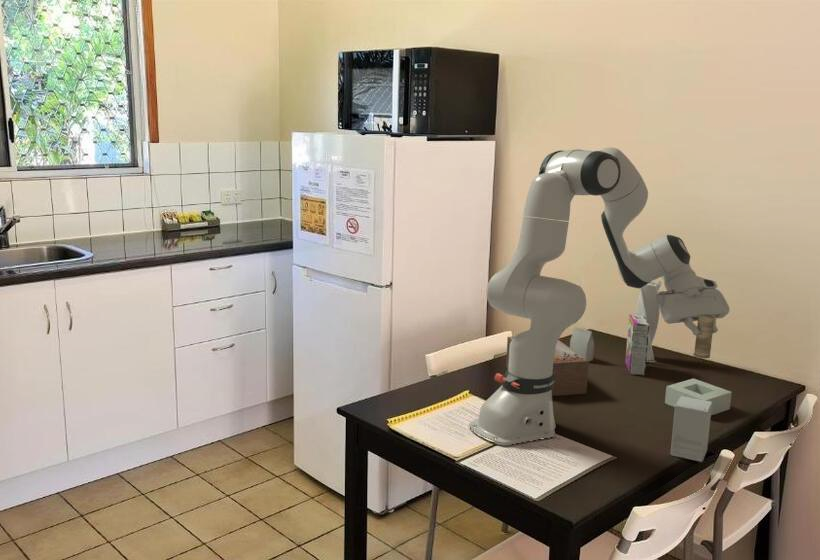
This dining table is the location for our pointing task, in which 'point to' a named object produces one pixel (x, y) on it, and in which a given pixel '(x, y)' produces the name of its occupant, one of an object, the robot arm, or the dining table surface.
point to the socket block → (699, 394)
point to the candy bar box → (637, 344)
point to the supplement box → (691, 428)
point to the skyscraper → (649, 312)
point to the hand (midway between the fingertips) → (706, 333)
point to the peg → (704, 336)
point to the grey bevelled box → (582, 343)
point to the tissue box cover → (565, 370)
